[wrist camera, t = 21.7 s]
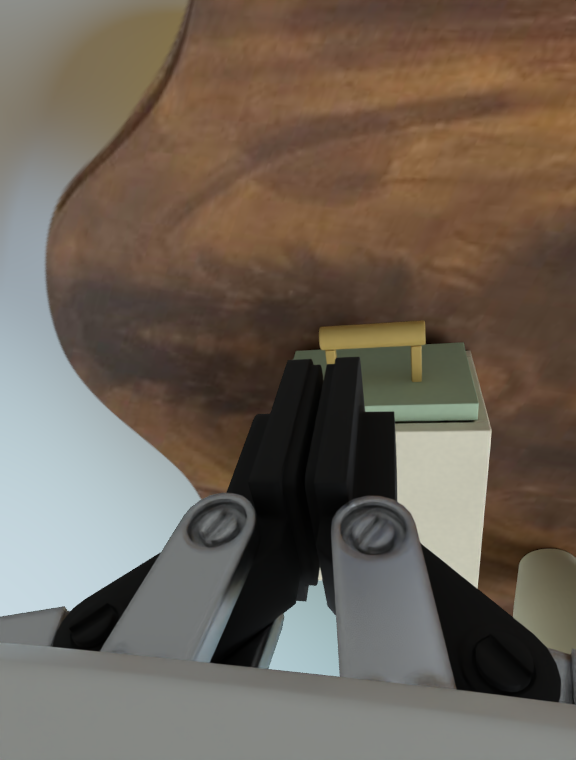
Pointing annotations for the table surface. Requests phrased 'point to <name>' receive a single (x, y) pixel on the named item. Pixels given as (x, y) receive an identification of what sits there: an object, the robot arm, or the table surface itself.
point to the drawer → (403, 370)
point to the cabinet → (447, 484)
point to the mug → (548, 597)
